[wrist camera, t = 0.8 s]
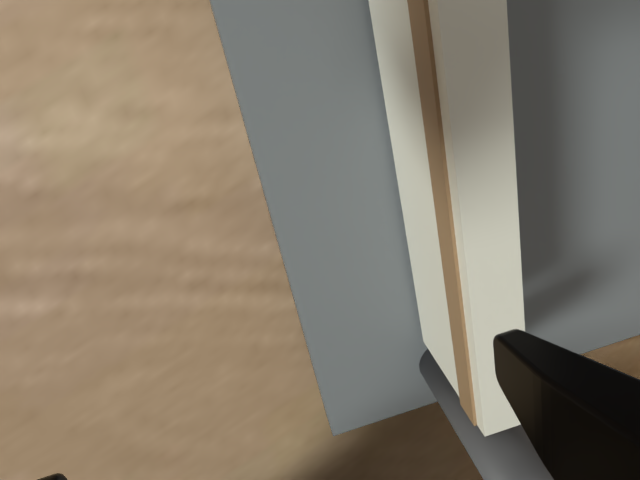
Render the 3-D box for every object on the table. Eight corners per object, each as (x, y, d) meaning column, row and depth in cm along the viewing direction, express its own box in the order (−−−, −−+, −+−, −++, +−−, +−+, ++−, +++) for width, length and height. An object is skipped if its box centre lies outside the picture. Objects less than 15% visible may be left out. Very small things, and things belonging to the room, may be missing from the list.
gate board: (786, 268, 26) (989, 370, 20) (327, 419, 24) (383, 589, 18) (898, -298, 17) (1350, -462, 10) (171, -133, 15) (164, -211, 8)
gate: (462, 329, 22) (533, 420, 18) (420, 342, 22) (481, 437, 17) (410, -102, 15) (504, -129, 11) (350, -87, 15) (420, -109, 11)
